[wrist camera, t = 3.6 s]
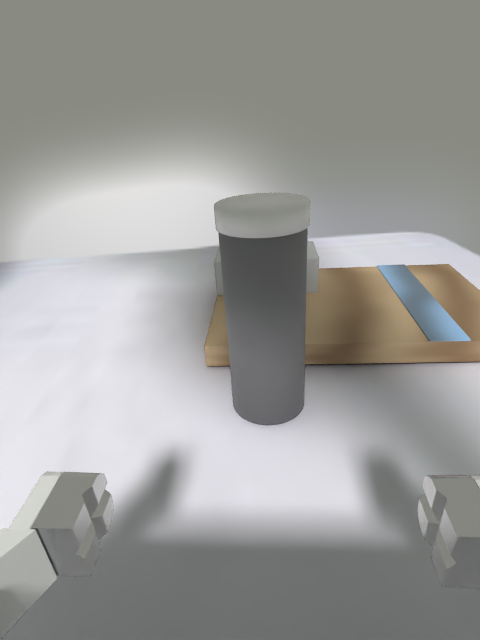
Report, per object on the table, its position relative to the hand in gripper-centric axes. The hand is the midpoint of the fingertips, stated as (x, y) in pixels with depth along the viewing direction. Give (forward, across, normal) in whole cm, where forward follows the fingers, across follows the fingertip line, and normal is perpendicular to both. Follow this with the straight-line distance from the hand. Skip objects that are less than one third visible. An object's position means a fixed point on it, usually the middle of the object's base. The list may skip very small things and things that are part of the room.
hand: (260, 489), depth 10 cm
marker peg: (+11, 0, +6) cm, 12 cm away
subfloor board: (+21, -6, +6) cm, 22 cm away
